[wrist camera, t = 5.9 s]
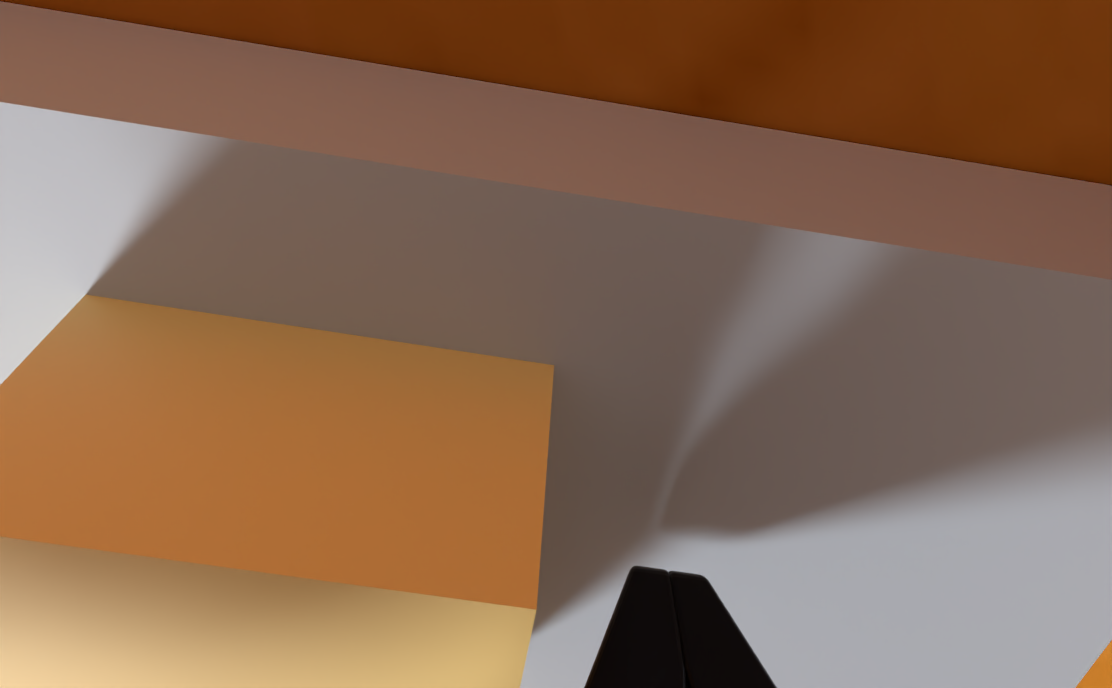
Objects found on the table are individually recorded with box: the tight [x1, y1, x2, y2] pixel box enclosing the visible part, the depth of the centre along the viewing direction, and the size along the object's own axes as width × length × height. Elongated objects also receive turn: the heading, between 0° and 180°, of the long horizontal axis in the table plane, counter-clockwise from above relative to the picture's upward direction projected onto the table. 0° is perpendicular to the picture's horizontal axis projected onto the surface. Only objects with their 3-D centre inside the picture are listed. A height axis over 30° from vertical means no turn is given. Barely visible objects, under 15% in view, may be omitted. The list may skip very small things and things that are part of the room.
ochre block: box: [0, 295, 554, 688], centre depth 9 cm, size 4×4×3 cm
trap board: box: [0, 1, 1112, 688], centre depth 13 cm, size 21×15×3 cm
